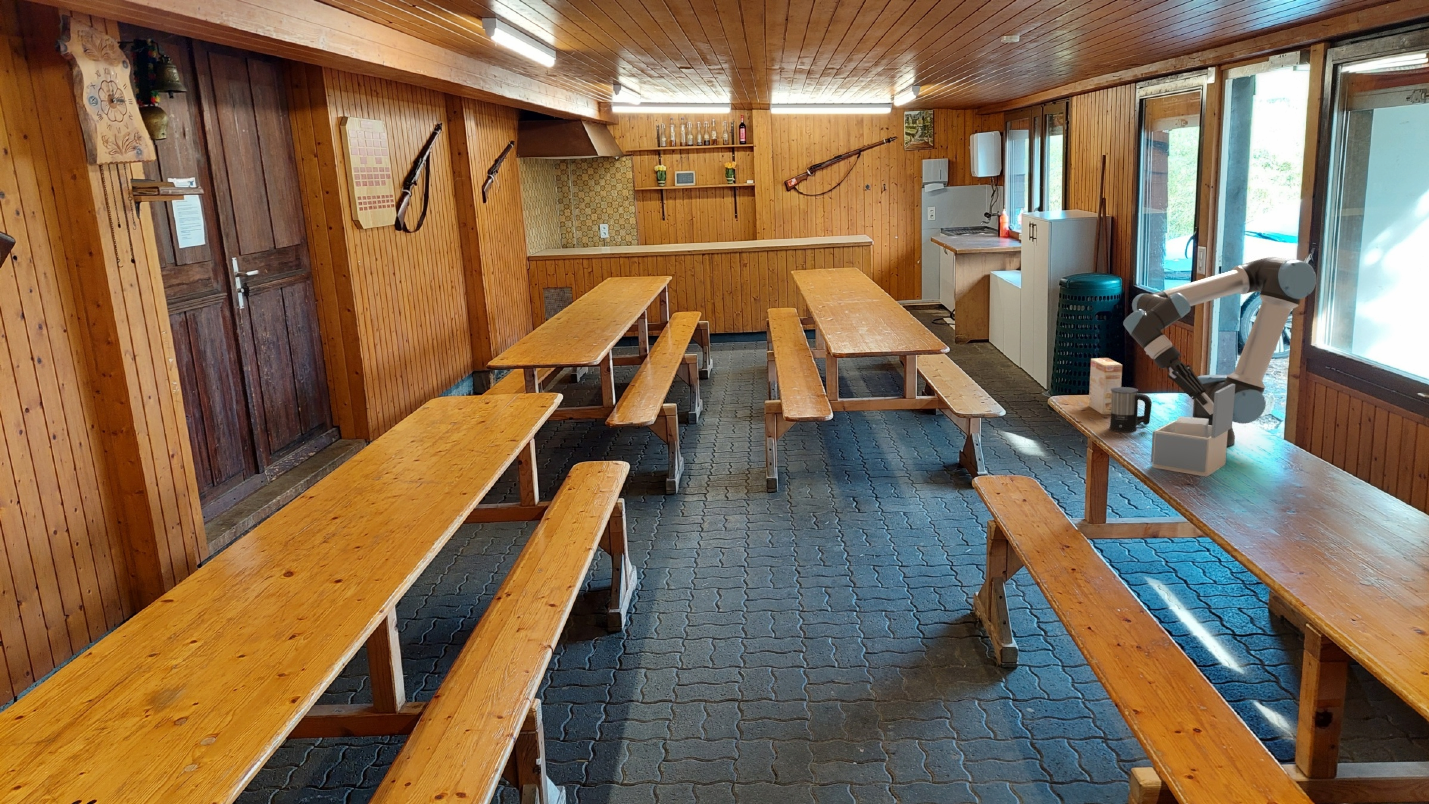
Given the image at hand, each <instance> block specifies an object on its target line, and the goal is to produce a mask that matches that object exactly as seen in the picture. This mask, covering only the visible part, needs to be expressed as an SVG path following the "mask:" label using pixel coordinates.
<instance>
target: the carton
mask: <svg viewBox="0 0 1429 804" xmlns="http://www.w3.org/2000/svg"><path fill="white" fill-rule="evenodd" d="M1176 421H1177V420H1173V421H1170V422H1169V423H1166V424H1165V425H1163V426H1161V427H1158V428H1157V429H1155V430H1153V431H1152V435H1151V437H1152V438H1151V439H1152V440H1151V453H1150V454H1151V456H1150V463H1152V468H1154V469H1159V470H1166V471H1172V472H1178V473H1184V474H1188V475H1189V474H1190V475H1195V476H1201V477H1209V476H1210V475H1212V474H1213V473H1216V471H1217V470H1219V469H1220V468H1222V467H1224V466H1225V465H1226V460H1227V457H1226V456H1227V447H1228V446H1227V435H1228V430H1227V431H1226V432H1224V433H1222V434H1221V435H1219V436H1217V437H1216V438H1211V435H1212V426H1211V425H1208V436H1207V438H1205V437H1198V436H1191V435H1184V434H1177V433H1174V432H1175V422H1176Z"/></svg>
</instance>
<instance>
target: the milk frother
mask: <svg viewBox="0 0 1429 804" xmlns="http://www.w3.org/2000/svg"><path fill="white" fill-rule="evenodd" d="M1110 390H1111V392H1112V395H1111V414H1110V420H1109V421H1110V423H1109V430H1111V431H1115V432H1121V433H1122V432H1123V433H1127V432H1128V433H1129V432H1130V433H1131V432H1135V431H1137V429H1138V428H1137V425H1140V424H1143V425H1144V426H1147V425H1149V424H1150V421H1151V413H1152V406H1153V405H1152V404H1153V403H1152V400H1151V397H1149V395H1146V394H1144V393H1138V392H1139V389H1138V388H1134V387H1129V386H1128V387H1127V386H1125V387H1124V386H1121V387H1117V388H1112V389H1110ZM1139 401H1142V402H1143V403H1144V409H1143V415H1138V413H1139V412H1138V406H1139Z"/></svg>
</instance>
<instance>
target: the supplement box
mask: <svg viewBox="0 0 1429 804" xmlns="http://www.w3.org/2000/svg"><path fill="white" fill-rule="evenodd" d="M1192 417H1193V416H1192ZM1192 417H1191V416H1190V417H1189V416H1178V418H1177V419H1176V420H1175V421H1176V422H1175V432H1174V433H1177V434H1184V435H1191V436H1198V437H1205V438H1207V436H1208V423H1209V419H1205V418H1192Z"/></svg>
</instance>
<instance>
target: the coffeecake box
mask: <svg viewBox="0 0 1429 804" xmlns="http://www.w3.org/2000/svg"><path fill="white" fill-rule="evenodd" d="M1089 372H1090V373H1089V393H1088V397H1089V398H1088V407H1089V408H1092V409H1093V410H1095V411H1096V412H1098V413H1100V414H1101V415H1111V395H1112V392H1111V390H1110V389H1112V388H1117V387H1122V379H1123V377H1122V376H1123V364H1121V363H1120V362H1117V361H1115V360H1113V359H1111V358H1109V357H1099V358H1098V357H1097V358H1090V371H1089Z"/></svg>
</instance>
